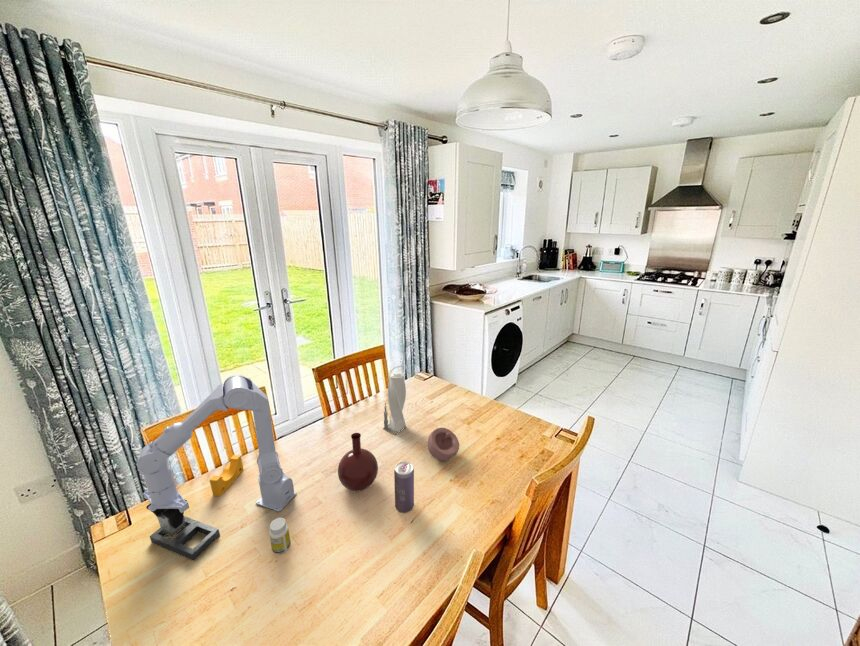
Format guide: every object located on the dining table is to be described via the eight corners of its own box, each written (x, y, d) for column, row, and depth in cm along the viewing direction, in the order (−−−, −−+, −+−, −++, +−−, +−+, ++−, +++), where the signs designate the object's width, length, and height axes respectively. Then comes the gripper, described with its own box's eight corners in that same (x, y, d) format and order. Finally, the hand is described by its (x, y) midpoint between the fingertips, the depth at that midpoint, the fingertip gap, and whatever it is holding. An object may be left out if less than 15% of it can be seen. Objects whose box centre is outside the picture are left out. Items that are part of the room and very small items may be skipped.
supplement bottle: (285, 535, 99) (281, 513, 96) (294, 545, 96) (290, 522, 93) (269, 547, 95) (264, 524, 93) (277, 558, 93) (273, 534, 90)
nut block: (186, 524, 99) (181, 508, 97) (172, 536, 96) (167, 520, 94) (176, 520, 100) (171, 504, 98) (162, 532, 97) (157, 516, 95)
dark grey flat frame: (220, 535, 99) (218, 529, 98) (193, 561, 92) (192, 554, 91) (179, 519, 103) (177, 513, 103) (151, 542, 96) (149, 536, 96)
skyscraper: (396, 419, 154) (395, 362, 145) (410, 426, 149) (410, 368, 140) (383, 429, 147) (381, 369, 138) (397, 436, 143) (396, 375, 134)
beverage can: (416, 501, 111) (416, 463, 106) (409, 516, 106) (409, 477, 101) (399, 496, 113) (399, 459, 108) (391, 511, 108) (390, 472, 103)
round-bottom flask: (359, 465, 126) (356, 419, 120) (386, 481, 119) (384, 433, 113) (331, 488, 116) (326, 438, 110) (358, 507, 109) (354, 455, 102)
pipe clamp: (232, 469, 124) (229, 454, 122) (243, 470, 123) (240, 455, 121) (208, 495, 113) (204, 479, 111) (220, 496, 112) (216, 480, 110)
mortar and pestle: (446, 473, 123) (447, 446, 120) (420, 458, 130) (421, 433, 126) (464, 455, 132) (465, 429, 129) (439, 442, 139) (440, 418, 136)
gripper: (126, 488, 92) (139, 527, 96) (165, 503, 87) (177, 543, 92) (154, 470, 98) (165, 507, 102) (191, 483, 94) (201, 521, 98)
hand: (172, 523), depth 97 cm, fingers closed on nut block, 4 cm apart
